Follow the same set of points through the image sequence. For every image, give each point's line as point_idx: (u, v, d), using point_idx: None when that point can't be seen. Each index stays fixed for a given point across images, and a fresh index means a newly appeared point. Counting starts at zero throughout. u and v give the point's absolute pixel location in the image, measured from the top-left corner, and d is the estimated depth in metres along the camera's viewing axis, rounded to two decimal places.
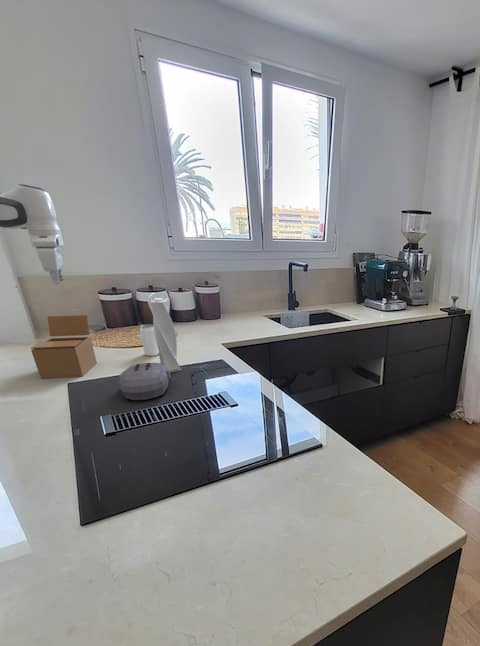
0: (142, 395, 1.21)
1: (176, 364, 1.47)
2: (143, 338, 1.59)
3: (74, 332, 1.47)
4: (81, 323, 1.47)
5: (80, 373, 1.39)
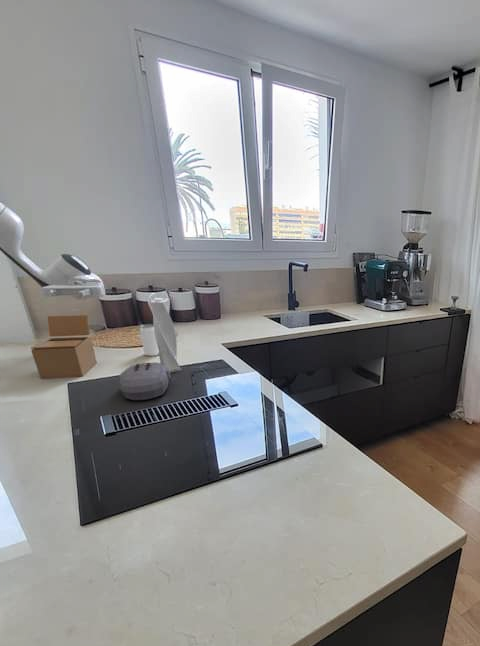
0: (142, 395, 1.21)
1: (176, 364, 1.47)
2: (143, 338, 1.59)
3: (74, 332, 1.47)
4: (81, 323, 1.47)
5: (80, 373, 1.39)
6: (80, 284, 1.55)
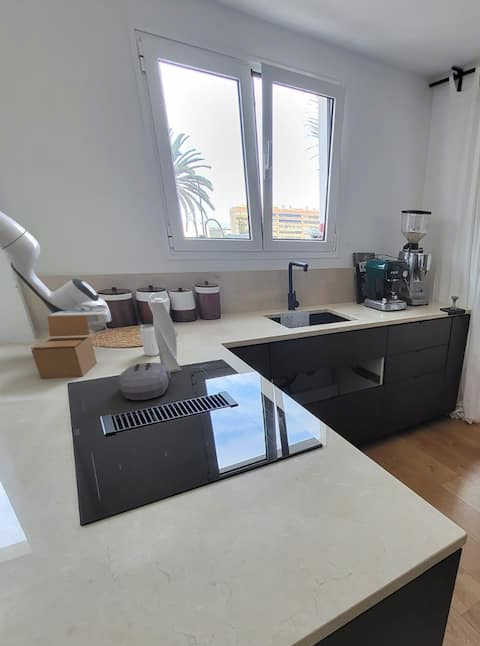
0: (142, 395, 1.21)
1: (176, 364, 1.47)
2: (143, 338, 1.59)
3: (74, 332, 1.47)
4: (81, 323, 1.47)
5: (80, 373, 1.39)
6: (87, 310, 1.60)
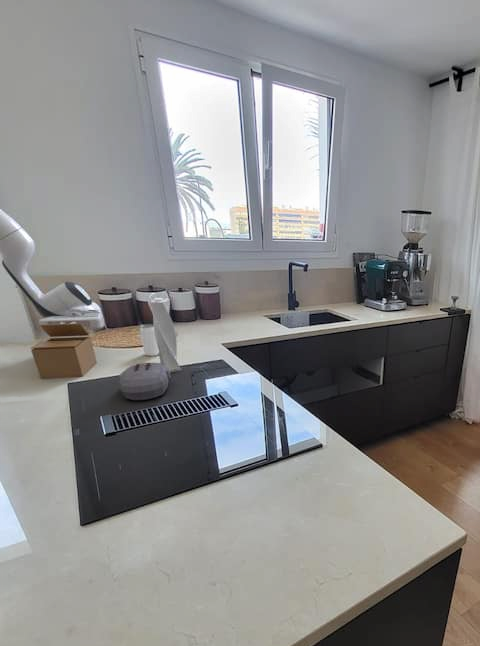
0: (142, 395, 1.21)
1: (176, 364, 1.47)
2: (143, 338, 1.59)
3: (73, 334, 1.46)
4: (77, 328, 1.44)
5: (80, 373, 1.39)
6: (78, 315, 1.52)
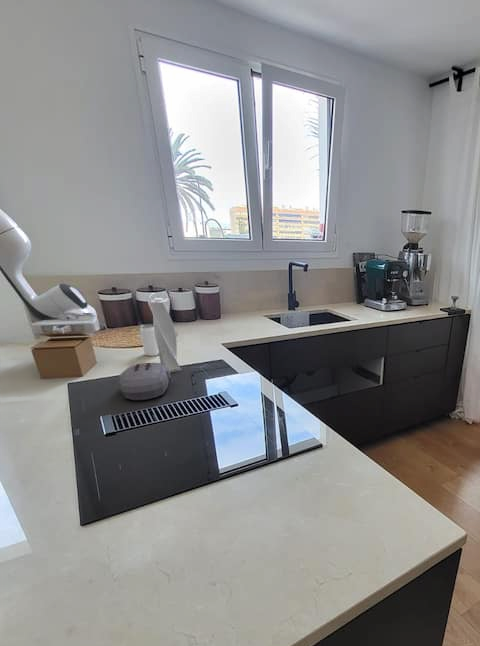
0: (142, 395, 1.21)
1: (176, 364, 1.47)
2: (143, 338, 1.59)
3: (73, 335, 1.46)
4: (77, 334, 1.43)
5: (80, 373, 1.39)
6: (72, 319, 1.47)
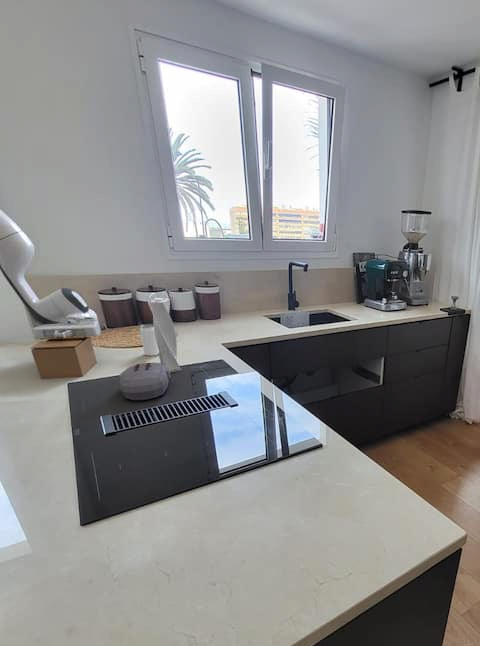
0: (142, 395, 1.21)
1: (176, 364, 1.47)
2: (143, 338, 1.59)
3: None
4: None
5: (80, 373, 1.39)
6: (74, 323, 1.47)
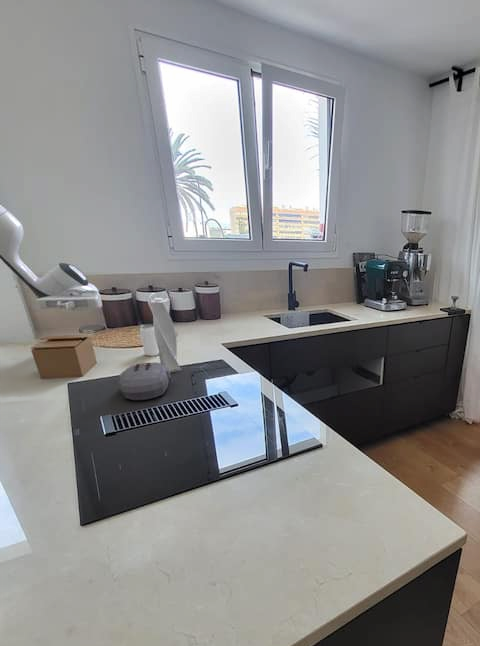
0: (142, 395, 1.21)
1: (176, 364, 1.47)
2: (143, 338, 1.59)
3: (73, 336, 1.46)
4: (78, 337, 1.44)
5: (80, 373, 1.39)
6: (76, 295, 1.51)
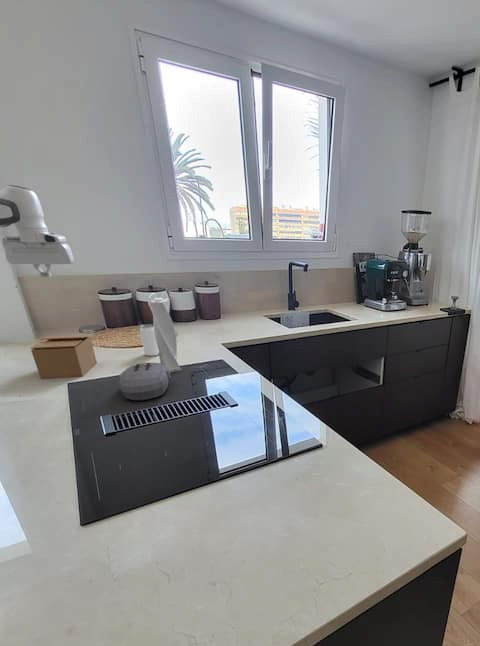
0: (142, 395, 1.21)
1: (176, 364, 1.47)
2: (143, 338, 1.59)
3: (73, 336, 1.46)
4: (78, 337, 1.44)
5: (80, 373, 1.39)
6: (40, 247, 1.41)
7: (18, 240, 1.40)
